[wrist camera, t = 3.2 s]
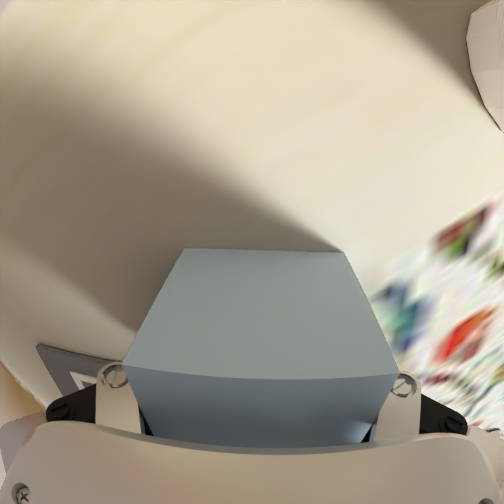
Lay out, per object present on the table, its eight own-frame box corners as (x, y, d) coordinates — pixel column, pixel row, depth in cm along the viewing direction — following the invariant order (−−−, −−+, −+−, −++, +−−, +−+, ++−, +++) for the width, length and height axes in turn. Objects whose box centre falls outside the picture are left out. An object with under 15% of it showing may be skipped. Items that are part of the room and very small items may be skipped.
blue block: (343, 252, 11) (399, 372, 5) (321, 363, 13) (338, 474, 8) (184, 247, 11) (121, 364, 6) (198, 359, 14) (172, 468, 8)
